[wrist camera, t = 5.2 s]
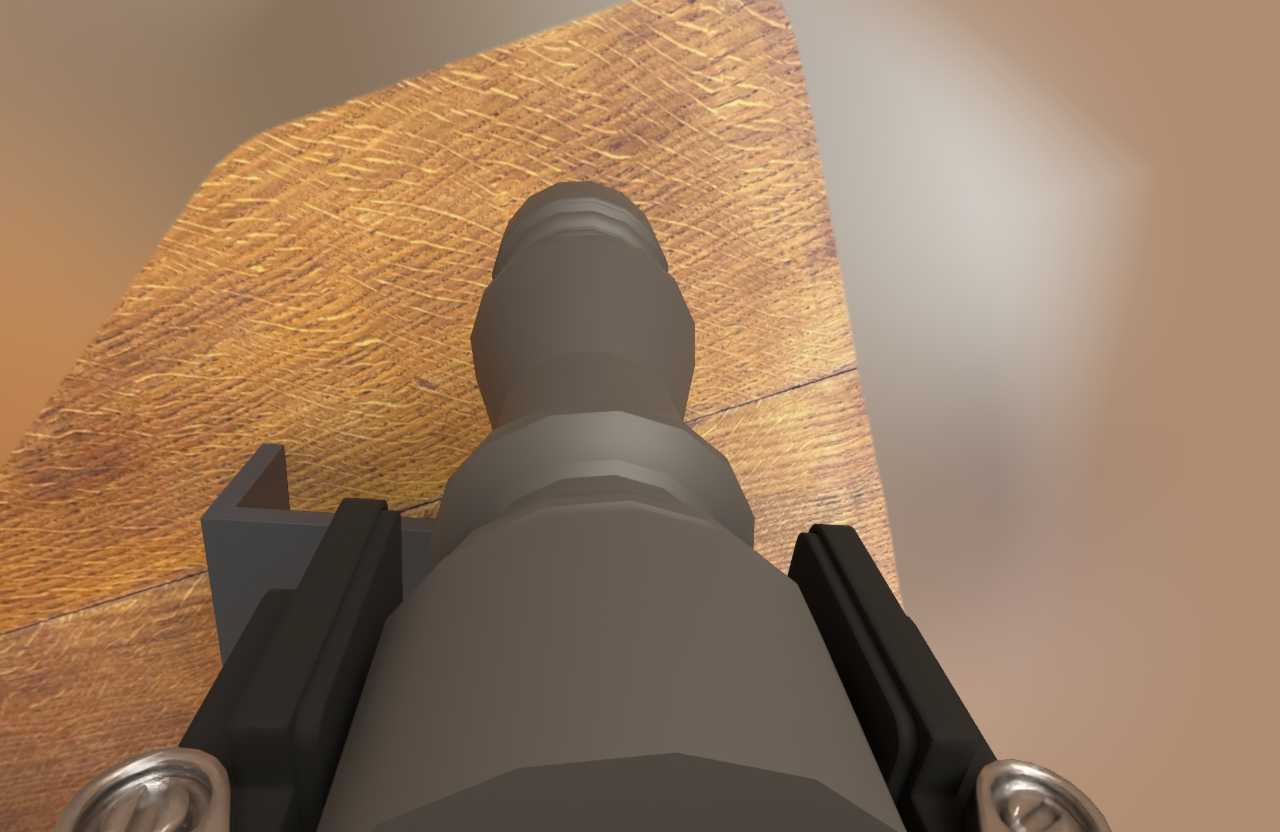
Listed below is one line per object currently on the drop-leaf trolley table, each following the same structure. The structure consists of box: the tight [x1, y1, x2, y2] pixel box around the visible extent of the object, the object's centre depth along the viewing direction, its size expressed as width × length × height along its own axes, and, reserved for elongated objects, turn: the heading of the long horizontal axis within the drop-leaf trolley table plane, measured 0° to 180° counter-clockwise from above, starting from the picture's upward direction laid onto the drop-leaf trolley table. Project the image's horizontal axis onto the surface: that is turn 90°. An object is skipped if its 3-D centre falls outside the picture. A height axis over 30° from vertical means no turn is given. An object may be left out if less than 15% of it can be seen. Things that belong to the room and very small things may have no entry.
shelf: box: [201, 444, 436, 666], centre depth 43 cm, size 20×10×8 cm, turn 83°
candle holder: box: [316, 181, 907, 832], centre depth 18 cm, size 6×6×25 cm
